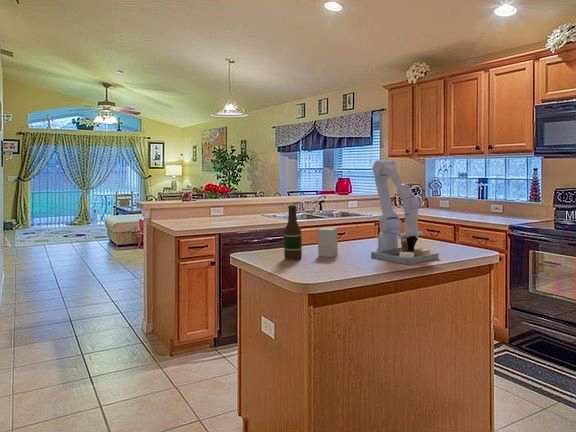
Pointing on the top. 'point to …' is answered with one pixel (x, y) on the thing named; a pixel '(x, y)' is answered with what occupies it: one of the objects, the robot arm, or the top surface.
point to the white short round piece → (406, 254)
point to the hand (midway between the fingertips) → (410, 252)
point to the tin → (404, 245)
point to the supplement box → (327, 242)
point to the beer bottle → (292, 236)
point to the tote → (389, 257)
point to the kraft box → (421, 252)
